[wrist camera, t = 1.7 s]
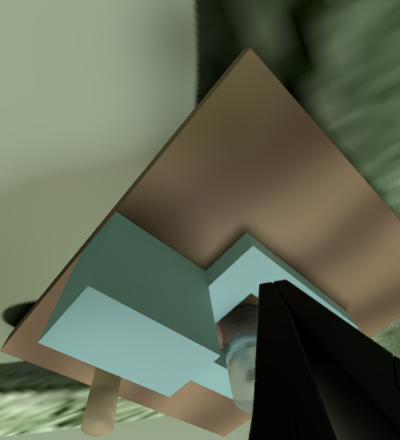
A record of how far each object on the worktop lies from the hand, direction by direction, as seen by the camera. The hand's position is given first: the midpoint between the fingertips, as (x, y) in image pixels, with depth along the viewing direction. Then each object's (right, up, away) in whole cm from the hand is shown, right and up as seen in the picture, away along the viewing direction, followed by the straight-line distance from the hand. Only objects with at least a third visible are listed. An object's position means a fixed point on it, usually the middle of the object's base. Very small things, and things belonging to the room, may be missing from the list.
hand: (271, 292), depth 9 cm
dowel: (-8, -7, +9) cm, 14 cm away
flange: (-2, -3, +7) cm, 8 cm away
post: (0, -4, +8) cm, 9 cm away
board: (0, -3, +9) cm, 10 cm away
